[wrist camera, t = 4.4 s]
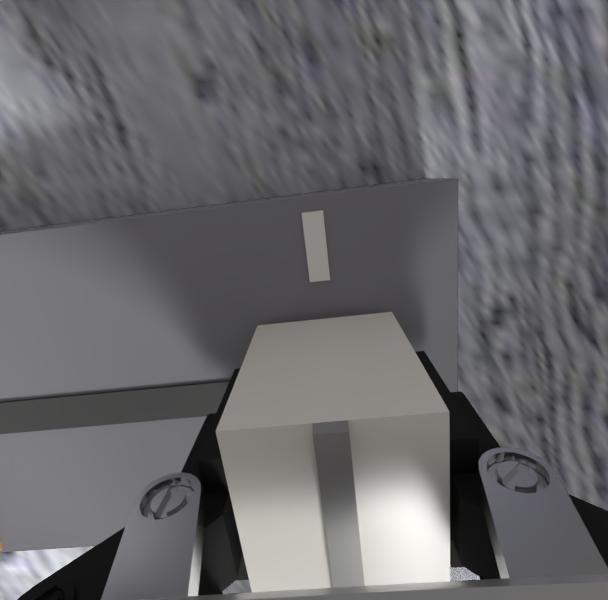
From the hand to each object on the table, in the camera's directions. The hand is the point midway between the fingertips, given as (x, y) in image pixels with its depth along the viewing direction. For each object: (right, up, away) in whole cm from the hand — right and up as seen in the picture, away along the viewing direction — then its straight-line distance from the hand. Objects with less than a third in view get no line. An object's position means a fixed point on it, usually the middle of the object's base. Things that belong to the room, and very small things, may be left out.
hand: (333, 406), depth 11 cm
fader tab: (0, 0, +1) cm, 1 cm away
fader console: (-8, 0, +4) cm, 9 cm away
